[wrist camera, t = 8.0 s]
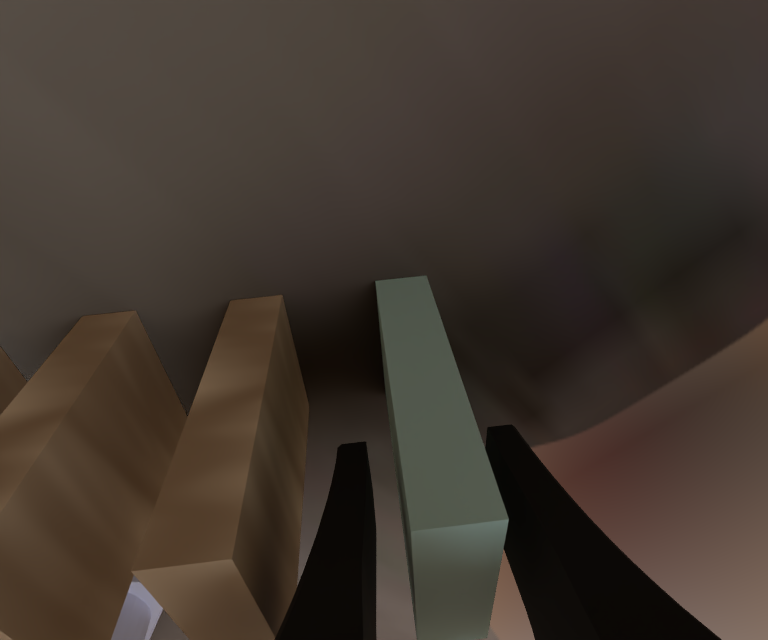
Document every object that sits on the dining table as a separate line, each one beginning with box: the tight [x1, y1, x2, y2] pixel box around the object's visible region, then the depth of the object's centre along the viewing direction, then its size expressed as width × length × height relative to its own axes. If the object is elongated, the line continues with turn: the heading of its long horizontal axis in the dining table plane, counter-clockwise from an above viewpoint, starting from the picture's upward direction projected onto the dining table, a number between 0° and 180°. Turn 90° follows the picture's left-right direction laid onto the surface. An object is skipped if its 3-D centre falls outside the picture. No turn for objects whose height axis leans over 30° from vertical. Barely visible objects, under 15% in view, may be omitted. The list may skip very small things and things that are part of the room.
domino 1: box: [0, 310, 187, 640], centre depth 12 cm, size 2×5×8 cm, turn 4°
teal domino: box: [375, 276, 509, 640], centre depth 12 cm, size 2×5×8 cm, turn 3°
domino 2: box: [131, 295, 309, 640], centre depth 12 cm, size 2×5×8 cm, turn 3°
